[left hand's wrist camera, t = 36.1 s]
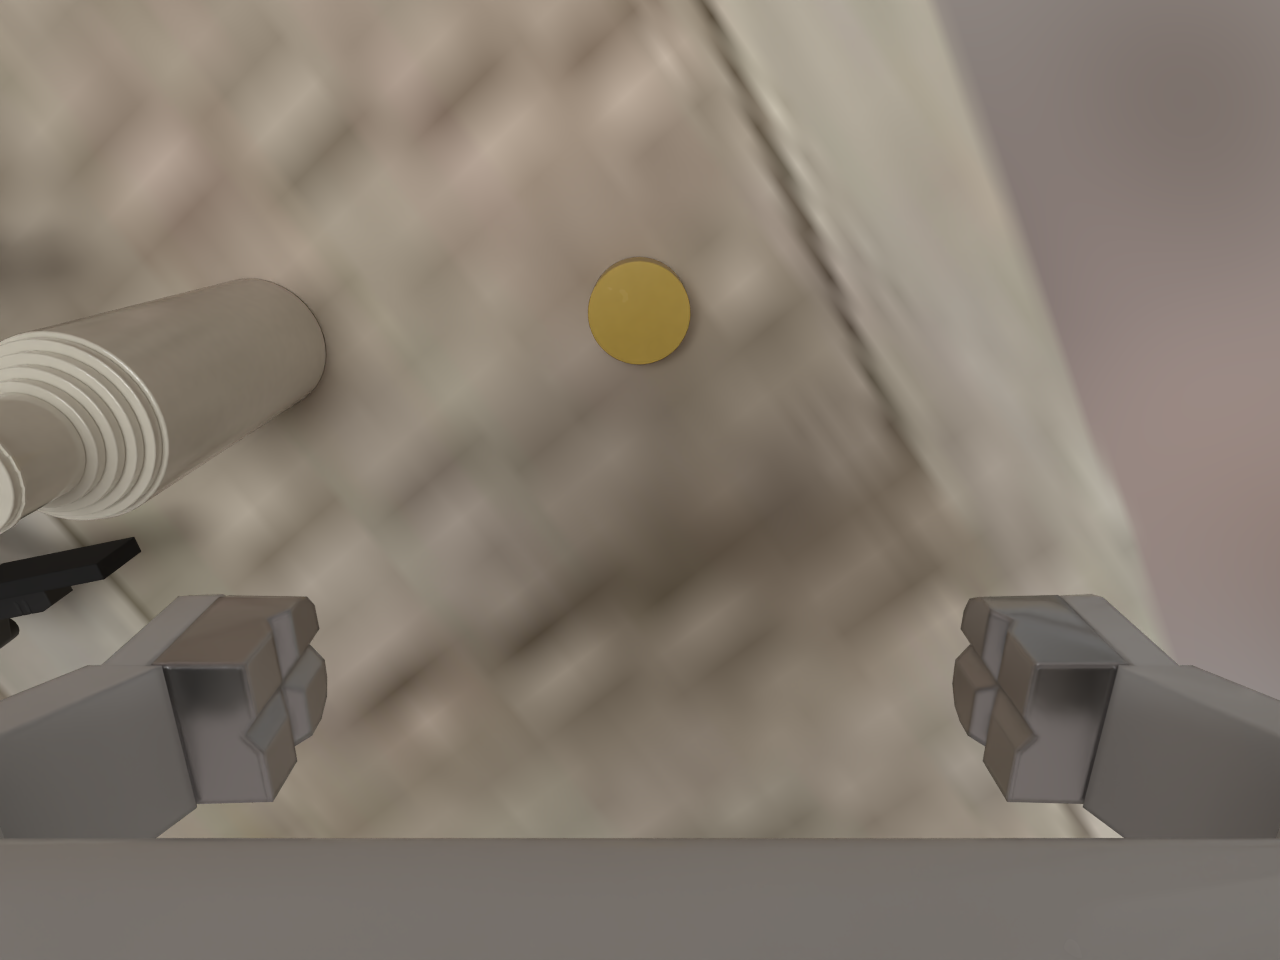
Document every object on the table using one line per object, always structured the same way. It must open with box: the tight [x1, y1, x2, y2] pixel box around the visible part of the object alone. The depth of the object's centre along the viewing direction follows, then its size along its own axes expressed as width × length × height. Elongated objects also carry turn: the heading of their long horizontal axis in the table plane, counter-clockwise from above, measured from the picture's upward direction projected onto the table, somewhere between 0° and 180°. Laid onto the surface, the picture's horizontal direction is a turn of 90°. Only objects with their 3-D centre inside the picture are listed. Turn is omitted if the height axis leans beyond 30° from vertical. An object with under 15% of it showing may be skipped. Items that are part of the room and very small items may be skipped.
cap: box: [588, 257, 690, 364], centre depth 36 cm, size 4×4×2 cm
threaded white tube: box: [0, 278, 326, 534], centre depth 29 cm, size 6×6×18 cm
